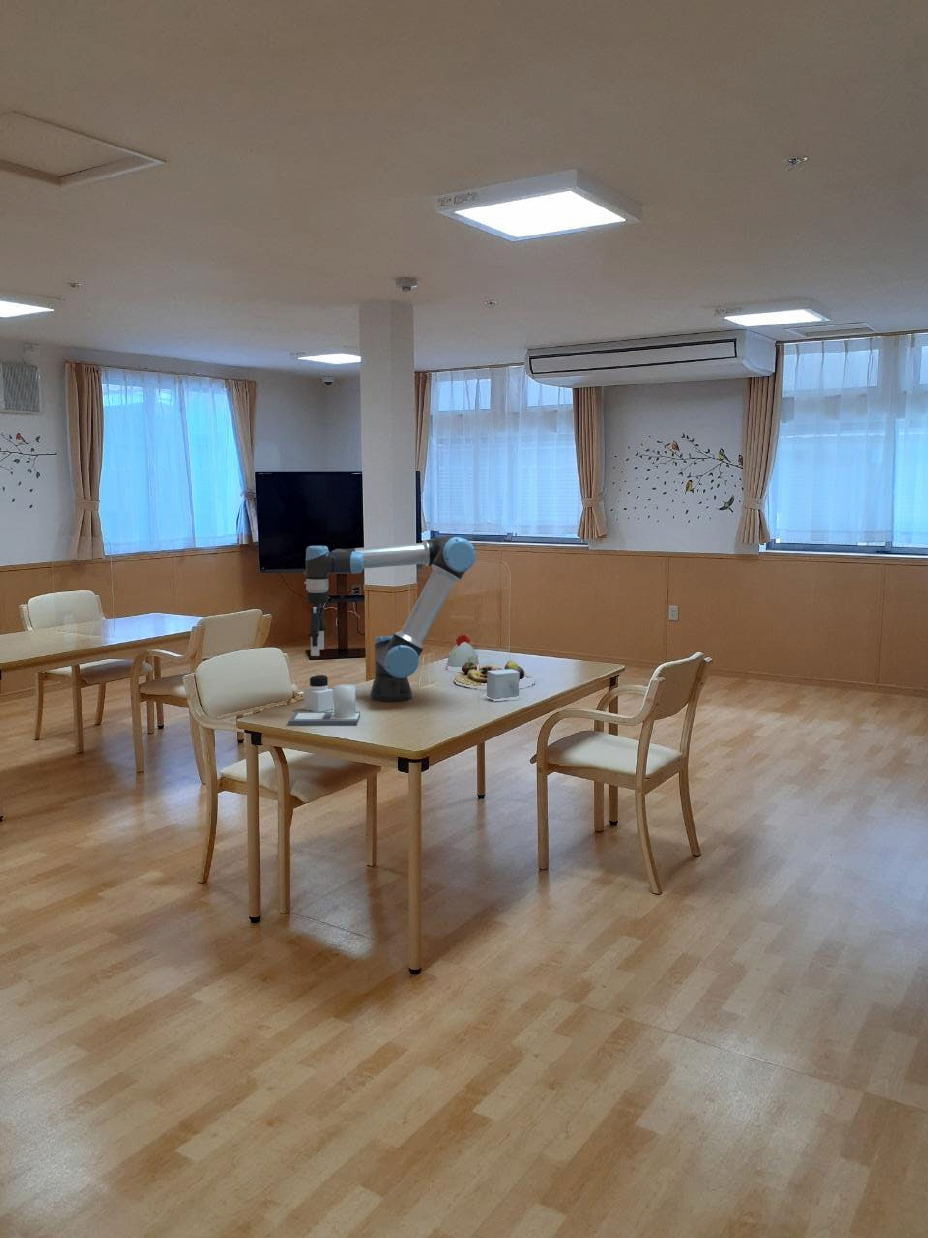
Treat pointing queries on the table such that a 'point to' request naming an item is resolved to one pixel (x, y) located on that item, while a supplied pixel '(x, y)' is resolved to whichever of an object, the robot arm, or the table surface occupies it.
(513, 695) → the skincare box
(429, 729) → the table surface
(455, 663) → the white dome figure
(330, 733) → the table surface
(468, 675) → the wooden plate with food
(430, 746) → the table surface
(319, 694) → the medicine bottle
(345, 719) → the dock board
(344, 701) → the plastic jar
